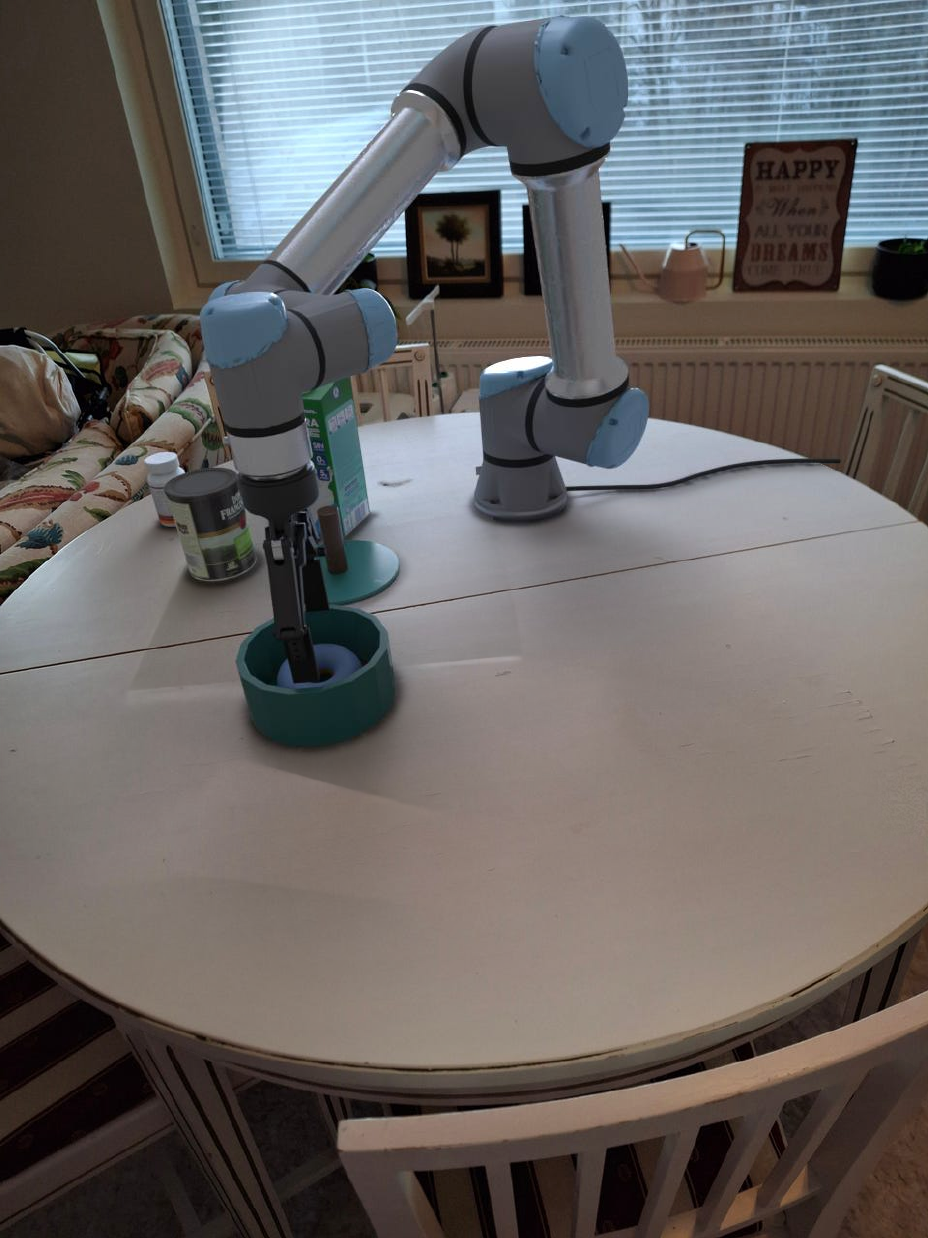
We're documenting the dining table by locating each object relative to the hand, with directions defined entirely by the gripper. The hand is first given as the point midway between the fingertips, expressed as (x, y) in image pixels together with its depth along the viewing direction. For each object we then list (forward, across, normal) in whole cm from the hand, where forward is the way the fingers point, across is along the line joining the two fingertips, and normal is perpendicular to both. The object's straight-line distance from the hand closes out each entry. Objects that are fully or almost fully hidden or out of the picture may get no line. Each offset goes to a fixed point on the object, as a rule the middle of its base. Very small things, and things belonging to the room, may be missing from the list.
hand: (312, 643), depth 90 cm
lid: (+7, -28, 0) cm, 29 cm away
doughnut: (+7, 0, 0) cm, 7 cm away
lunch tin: (+8, 0, 0) cm, 8 cm away
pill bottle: (+8, -52, -29) cm, 60 cm away
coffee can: (+8, -34, -18) cm, 39 cm away
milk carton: (+8, -45, -2) cm, 46 cm away
